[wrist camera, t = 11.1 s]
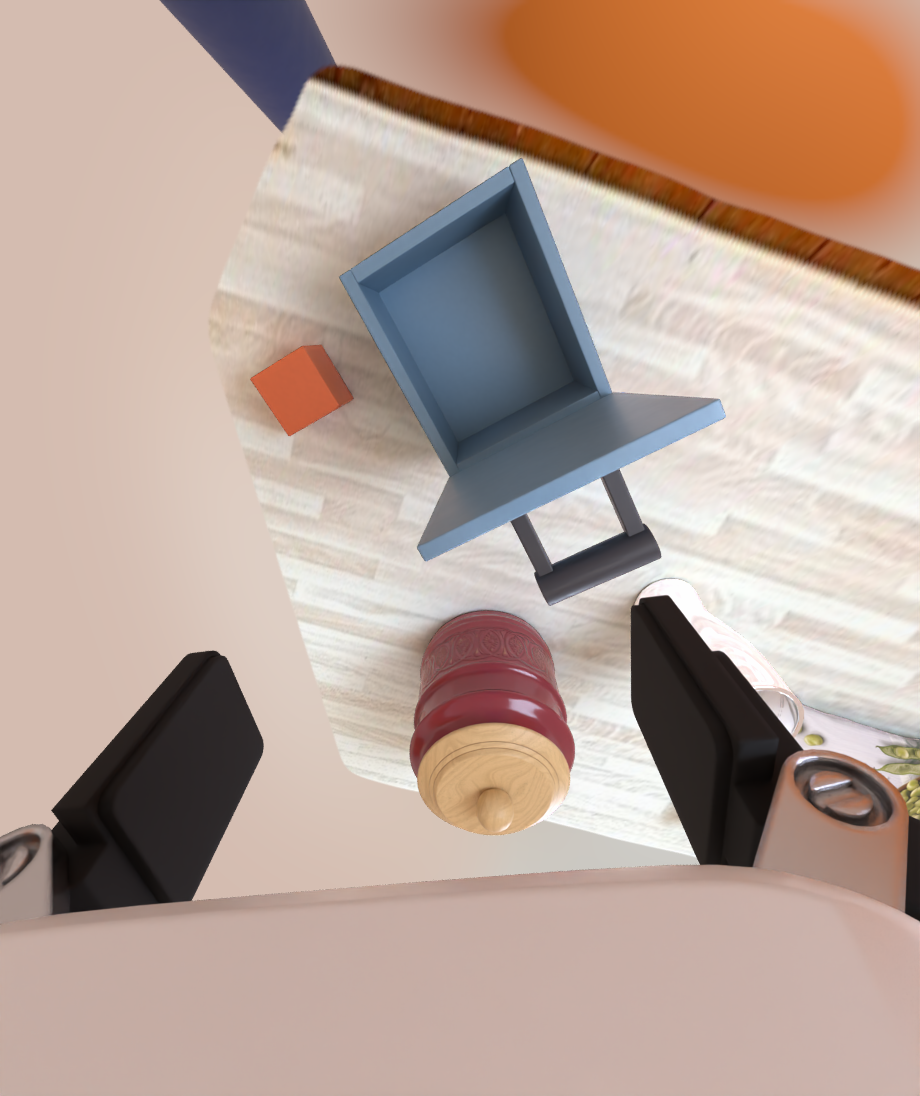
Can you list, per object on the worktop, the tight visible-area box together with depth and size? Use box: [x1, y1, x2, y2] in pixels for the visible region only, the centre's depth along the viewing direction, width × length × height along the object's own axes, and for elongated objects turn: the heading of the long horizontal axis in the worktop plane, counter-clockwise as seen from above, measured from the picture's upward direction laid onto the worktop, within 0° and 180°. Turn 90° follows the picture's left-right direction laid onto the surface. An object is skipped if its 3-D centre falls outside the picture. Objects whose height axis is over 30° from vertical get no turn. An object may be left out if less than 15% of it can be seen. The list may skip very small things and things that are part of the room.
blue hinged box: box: [339, 158, 612, 476], centre depth 32 cm, size 14×12×8 cm
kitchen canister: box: [410, 611, 575, 835], centre depth 40 cm, size 13×13×18 cm
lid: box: [417, 392, 726, 606], centre depth 24 cm, size 14×12×6 cm
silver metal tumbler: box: [634, 579, 804, 738], centre depth 38 cm, size 7×7×15 cm
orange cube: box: [251, 345, 353, 436], centre depth 35 cm, size 4×4×4 cm
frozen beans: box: [795, 705, 920, 820], centre depth 51 cm, size 21×6×25 cm
